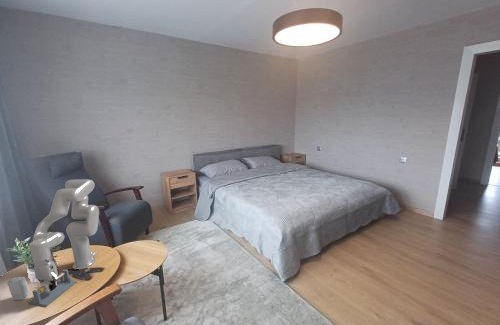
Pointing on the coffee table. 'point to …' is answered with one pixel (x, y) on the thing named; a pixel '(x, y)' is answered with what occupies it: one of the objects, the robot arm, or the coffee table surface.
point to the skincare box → (18, 288)
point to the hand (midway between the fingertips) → (49, 288)
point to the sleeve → (46, 285)
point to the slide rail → (49, 296)
